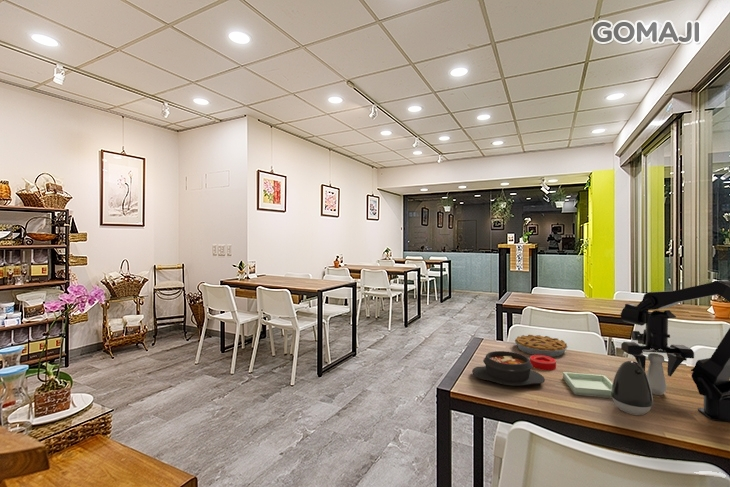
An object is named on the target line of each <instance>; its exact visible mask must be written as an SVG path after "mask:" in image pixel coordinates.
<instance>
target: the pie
mask: <svg viewBox="0 0 730 487" xmlns="http://www.w3.org/2000/svg"><path fill="white" fill-rule="evenodd" d="M514 342H515V344H516V346H517V347H518V350H519V351H521V350H522V351H521V352H523V353H527V354H530V355H532V356H533V355H544V356H548V357H551V358H553V357H554V356H555V357H559V356H562V355H563V354H564V352H565V351H566V350H567V348H569V346H568V344H567V343H566V342H565V341H564V340H563V339H560V340H559V338H554V337H550V336H548V335H545V336H542V335H540V334H539V335H534V334H527V335H524V334H523V335H520V336H517V337H516V338H515V340H514Z"/></svg>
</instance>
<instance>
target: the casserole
mask: <svg viewBox="0 0 730 487" xmlns="http://www.w3.org/2000/svg"><path fill="white" fill-rule="evenodd" d="M483 363H484V365H483V366H475V367H474V368H472V371H471V372H472V374H473V376H474V377H475V378H477V379H479V380H482V381H483V380H484V381H490V382H493V383H497V384H500V385H503V386H511V387H513V386H514V387H516V386H517V387H518V386H527V385H540V384H543V383H545V379H546V378H545V377H544V376H543V375H542V374H541V373H539V372H538V371H536V370H533V368H534V367H533V366H532V364H531V363H530V358H528V357H527V356H526V355H523V354H521V353H516V352H512V351H508V350H507V351H503V350H498V351H497V350H495V351H489V352H488V353H486V354H485V357H484V358H483Z"/></svg>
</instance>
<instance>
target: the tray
mask: <svg viewBox="0 0 730 487" xmlns="http://www.w3.org/2000/svg"><path fill="white" fill-rule="evenodd" d="M562 380H563V381H564V382H565V383H566V384H567V386H568V387H569V388H570V390H571V391H572V393H573V394H574V395H578V396H587V397H588V396H590V397H598V398H599V397H600V398H611V399H613V397H612V396H611V389H612V384H613V381H611V380H610V379H609V378H608V377H607V376H606V375H605V374H604V375H603V374H592V373H581V372H580V373H579V372H569V371H568V372H567V371H563V372H562Z"/></svg>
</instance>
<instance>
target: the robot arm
mask: <svg viewBox="0 0 730 487" xmlns="http://www.w3.org/2000/svg"><path fill="white" fill-rule="evenodd" d="M713 296H714V297H715V296H720V297H722V298H723V299H724V300H726V301H727V302H728V303H730V280H727V279H721V280H714V281H712V282H707V283H703V284H700V285H694V286H691V287H685V288H681V289H676V290H663V291H651V292H650V291H649V292H646V293H644V295H643V297H642V300H641V301H640V302H639V303H638V304H633V303H625V304H624V307H622V310H621V312H620V319H621V321H622V322H624V323H629V324H633V325H635V326H636V325H638V326H641V327H642V326H644V325H645V329H643V333H641V332H640V331H639V330H631V334H630V335H631V340H632V341H623V342H621V344H620V345H621V346H620V347H621V348H620V349H621V350H622V351H623V352H625V353H627V354H629V355H631V356H633V357H634V359H635V362H637V363H638V364H640V365H641V366H642V368H643V369H644V371H645V372H646V361H647V360H646V359H647V356H645V355H644V352H645V353H657V354H659V353H660V354H666V355H667V370H666V372H667V376H668V377H672V375H673V374H674V372H675V371H676V370H677V369H678V367H679V366H680V365H681V364H682V363H683V362H684V361H687V359H695V352H694V350H693V349H692V348H690V347H688V346H686V345H683V344H671V345H670V346H668V339H669V338H671V334H669V331H668V330H669V319H676V318H677V316H676V315H675V314H674V313H672V311H671V310H664V309H668V308H671V307H674V306H677V305H679V304H680V303H684V302H689V301H692V300H698V299H703V298H709V297H713ZM662 309H663V310H664V311H660V310H662ZM651 310H652V311H651ZM635 341H637V342H635ZM690 371H691V376H690V377H691V379H692V381H693V382H694V384H695V386H696V388H697V391H698V394H699V395H701V396H703V407H702V408H701V407H697V410H698V411H699V412H700V413H702V414H703V415H705V417H707V418H709V419H710V420H712V421H720V422H727V423H728V422H730V327H729V328H728V330H727V332H726V333H725V335H724V336H723V338H722V339H721V340H720V342H719V344H718V345H717V347H716V348H715V350H714V352H713V353H712V354H711V356H710V357H709V358H702V359H698V360H697V361H696V363H695V365H694V367H693V368H691V369H690Z"/></svg>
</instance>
